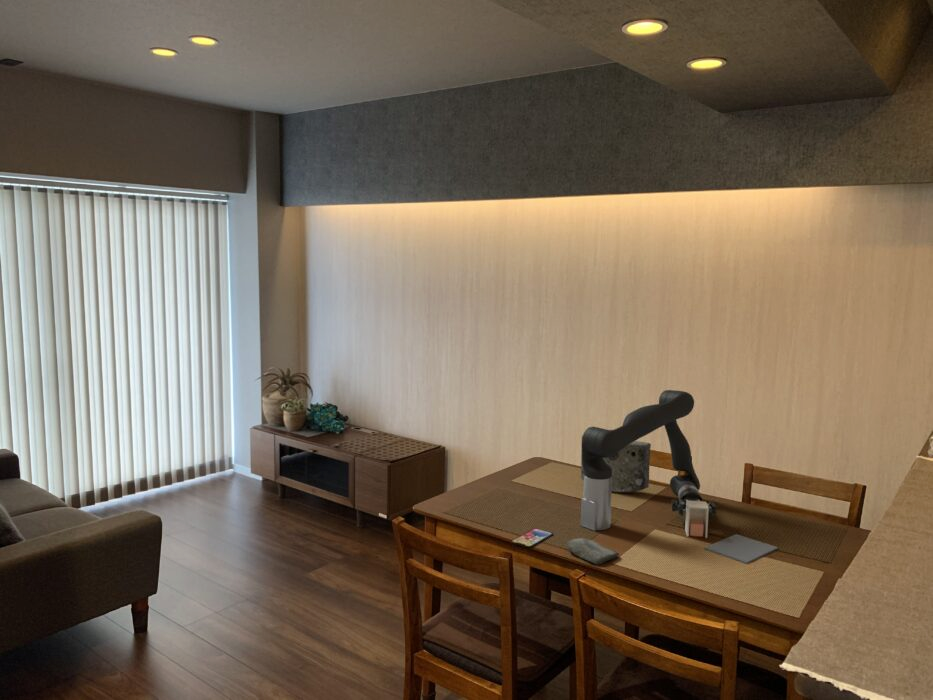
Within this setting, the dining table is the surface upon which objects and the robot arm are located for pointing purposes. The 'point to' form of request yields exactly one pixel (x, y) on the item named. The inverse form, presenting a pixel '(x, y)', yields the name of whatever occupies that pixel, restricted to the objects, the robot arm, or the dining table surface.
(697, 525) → the cube
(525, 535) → the smartphone
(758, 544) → the mat
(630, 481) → the concrete block
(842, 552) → the dining table surface
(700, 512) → the white open box
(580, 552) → the stone
